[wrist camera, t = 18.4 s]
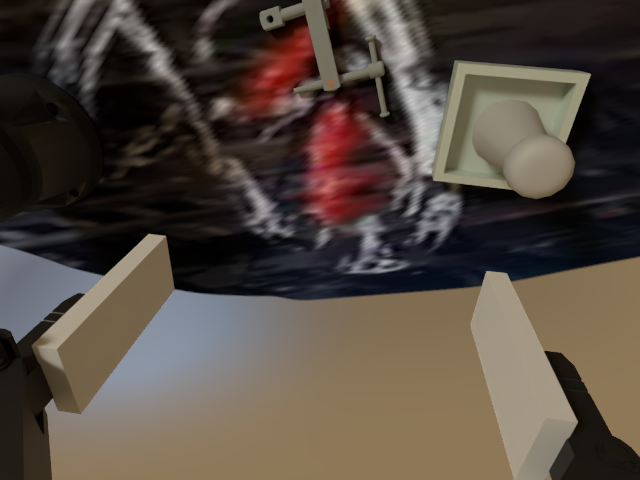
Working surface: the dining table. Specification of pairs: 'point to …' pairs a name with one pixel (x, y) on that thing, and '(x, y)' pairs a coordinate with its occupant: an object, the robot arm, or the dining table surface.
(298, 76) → the dining table surface
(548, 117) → the tray
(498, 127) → the salt shaker
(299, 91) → the clamp
